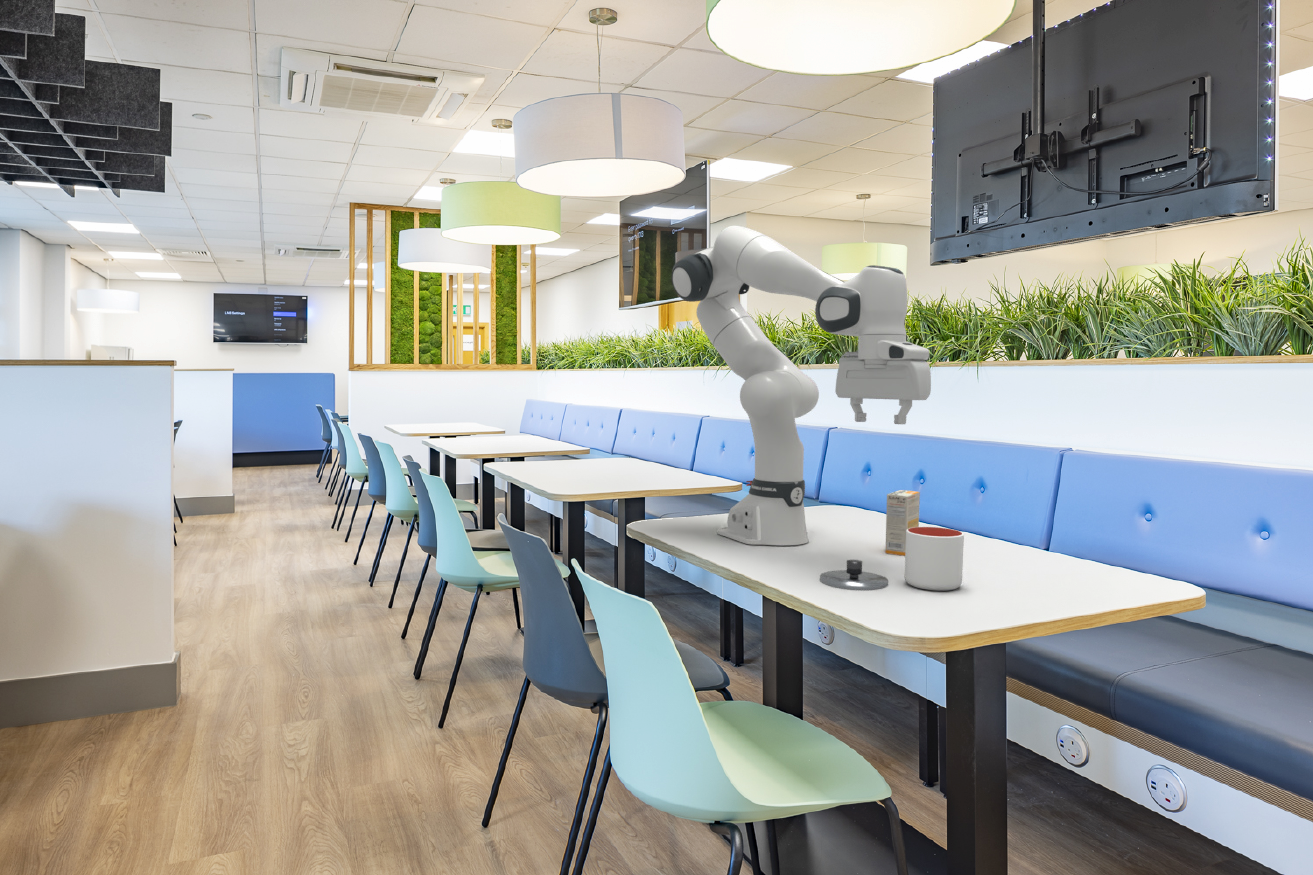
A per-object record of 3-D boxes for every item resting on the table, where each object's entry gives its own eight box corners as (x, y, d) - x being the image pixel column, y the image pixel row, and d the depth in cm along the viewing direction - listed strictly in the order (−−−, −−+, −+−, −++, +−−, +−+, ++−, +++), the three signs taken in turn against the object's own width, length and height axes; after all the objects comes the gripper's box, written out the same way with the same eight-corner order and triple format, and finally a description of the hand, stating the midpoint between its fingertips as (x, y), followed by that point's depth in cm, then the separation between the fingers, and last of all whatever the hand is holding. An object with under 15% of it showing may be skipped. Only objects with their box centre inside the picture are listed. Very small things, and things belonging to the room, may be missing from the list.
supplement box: (897, 547, 188) (899, 489, 187) (918, 550, 185) (920, 491, 184) (883, 553, 181) (885, 493, 180) (905, 556, 178) (907, 495, 177)
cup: (965, 594, 148) (968, 538, 147) (906, 590, 150) (908, 535, 149) (957, 580, 157) (959, 528, 157) (902, 577, 159) (903, 525, 159)
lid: (805, 580, 157) (806, 558, 156) (849, 572, 164) (850, 551, 164) (858, 595, 147) (859, 572, 147) (902, 586, 154) (903, 563, 154)
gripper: (829, 351, 167) (827, 420, 168) (915, 349, 151) (913, 426, 152) (850, 352, 171) (848, 420, 172) (937, 350, 154) (934, 425, 155)
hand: (879, 423), depth 162 cm, fingers open, 8 cm apart
